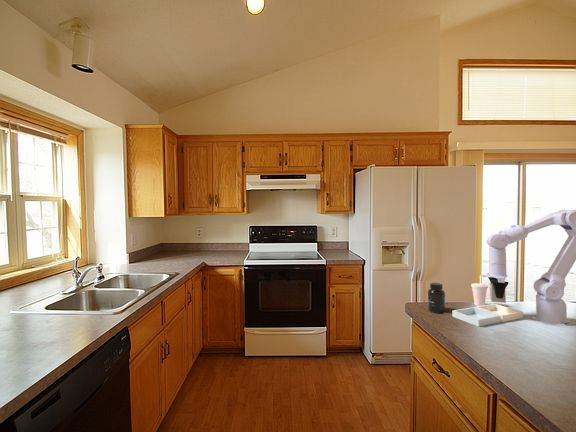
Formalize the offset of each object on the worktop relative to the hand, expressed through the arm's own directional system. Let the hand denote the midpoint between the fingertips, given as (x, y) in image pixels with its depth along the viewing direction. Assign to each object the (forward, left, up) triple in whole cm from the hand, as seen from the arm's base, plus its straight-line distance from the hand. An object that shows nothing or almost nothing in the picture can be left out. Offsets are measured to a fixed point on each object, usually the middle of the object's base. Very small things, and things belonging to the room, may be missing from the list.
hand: (498, 296), depth 119 cm
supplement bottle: (+18, -15, -8) cm, 24 cm away
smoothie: (-5, -13, -8) cm, 16 cm away
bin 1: (+13, 0, -8) cm, 15 cm away
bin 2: (0, 0, -8) cm, 8 cm away
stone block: (0, 0, -2) cm, 2 cm away
